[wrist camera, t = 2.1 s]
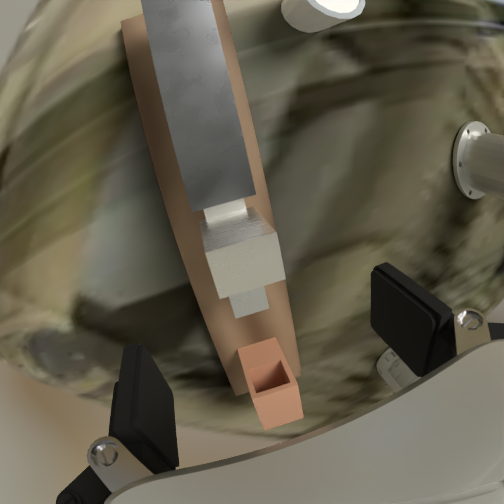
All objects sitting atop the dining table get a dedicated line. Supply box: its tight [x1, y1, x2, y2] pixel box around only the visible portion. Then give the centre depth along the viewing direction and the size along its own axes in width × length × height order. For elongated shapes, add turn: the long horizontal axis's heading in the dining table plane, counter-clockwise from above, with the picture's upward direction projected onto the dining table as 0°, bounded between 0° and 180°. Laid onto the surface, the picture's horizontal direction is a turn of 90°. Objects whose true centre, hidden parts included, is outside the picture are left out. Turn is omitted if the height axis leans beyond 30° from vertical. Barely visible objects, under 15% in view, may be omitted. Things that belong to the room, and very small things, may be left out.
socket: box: [237, 337, 304, 430], centre depth 34 cm, size 5×7×8 cm
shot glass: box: [281, 0, 365, 33], centre depth 20 cm, size 7×7×7 cm
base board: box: [121, 0, 302, 396], centre depth 30 cm, size 10×48×2 cm, turn 12°
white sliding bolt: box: [200, 198, 286, 318], centre depth 18 cm, size 4×27×9 cm, turn 12°
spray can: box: [376, 348, 421, 393], centre depth 37 cm, size 7×7×20 cm
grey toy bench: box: [141, 0, 256, 212], centre depth 20 cm, size 5×18×8 cm, turn 12°
